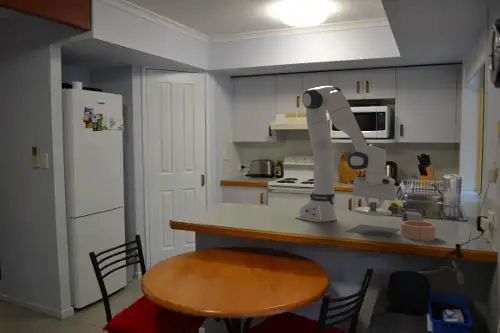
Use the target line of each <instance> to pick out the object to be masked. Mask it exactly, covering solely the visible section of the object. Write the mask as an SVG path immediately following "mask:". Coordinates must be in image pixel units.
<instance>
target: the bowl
mask: <svg viewBox="0 0 500 333" xmlns="http://www.w3.org/2000/svg"><path fill="white" fill-rule="evenodd" d="M436 234H437V224H435V223H433V222H429V221H425V220H423V221H403V222H401V223H400V235H401V236H402V237H403V238H407V239H410V240H416V241H422V242H430V241H435V240H434V239H436V237H437V235H436Z"/></svg>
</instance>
